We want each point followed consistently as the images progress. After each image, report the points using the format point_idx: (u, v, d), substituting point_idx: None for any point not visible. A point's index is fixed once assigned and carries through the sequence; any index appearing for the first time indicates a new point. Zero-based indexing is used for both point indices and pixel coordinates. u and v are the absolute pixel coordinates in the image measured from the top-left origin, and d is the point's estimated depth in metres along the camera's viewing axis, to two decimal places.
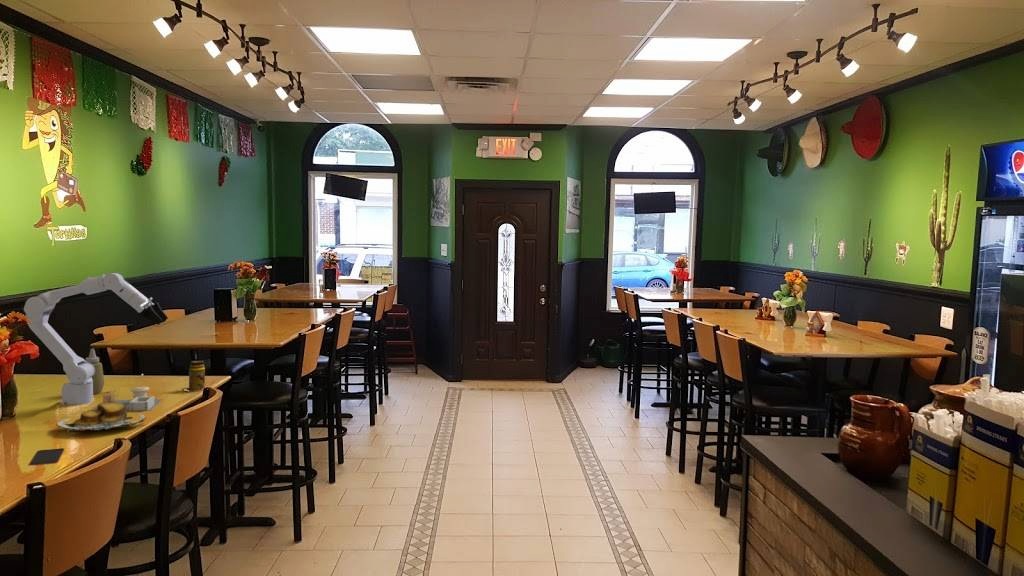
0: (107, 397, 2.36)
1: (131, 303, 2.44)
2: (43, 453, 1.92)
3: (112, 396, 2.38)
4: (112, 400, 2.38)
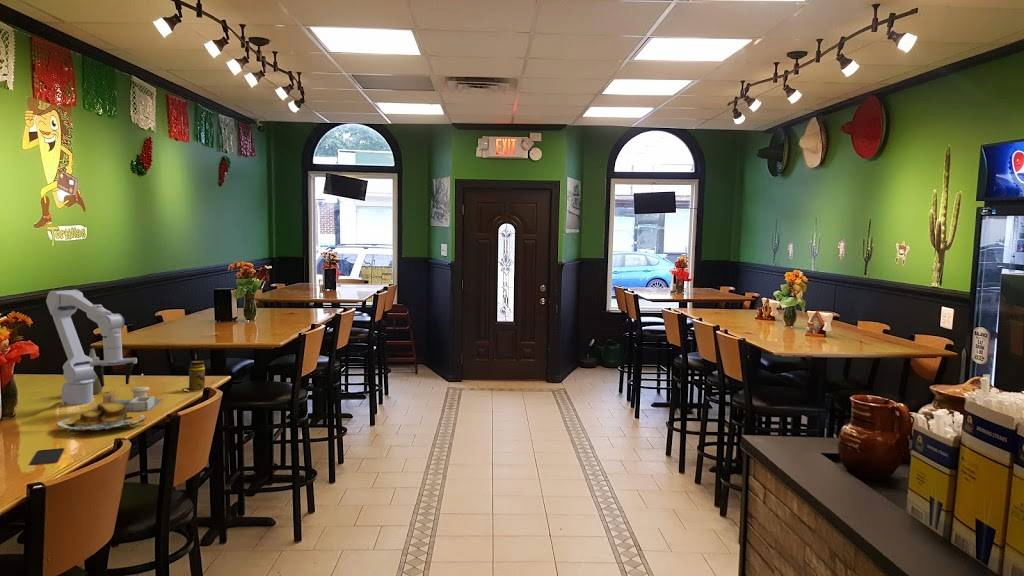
0: (107, 397, 2.36)
1: None
2: (43, 453, 1.92)
3: (112, 396, 2.38)
4: (112, 400, 2.38)
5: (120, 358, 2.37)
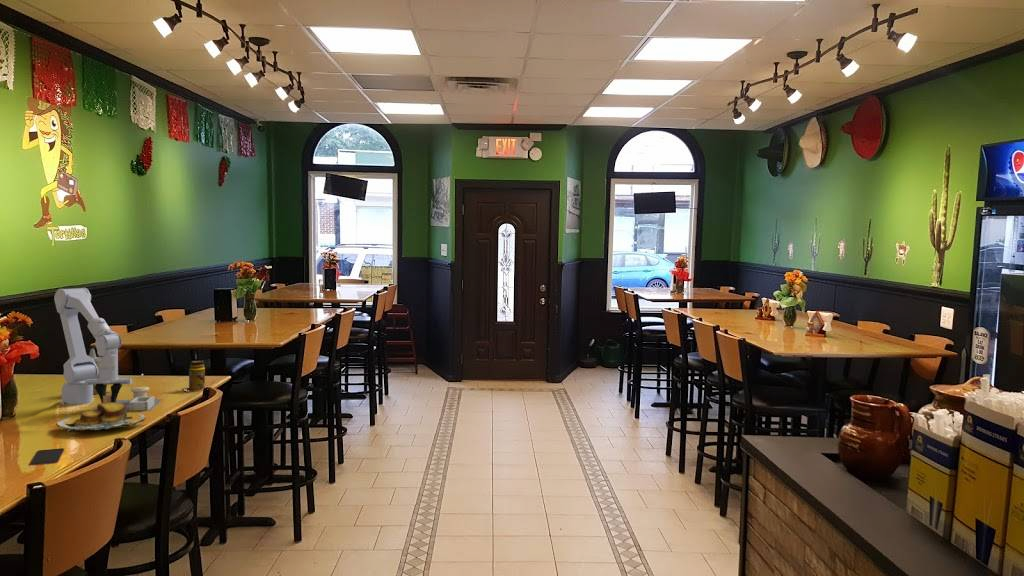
0: (107, 397, 2.36)
1: None
2: (43, 453, 1.92)
3: None
4: None
5: (114, 378, 2.36)
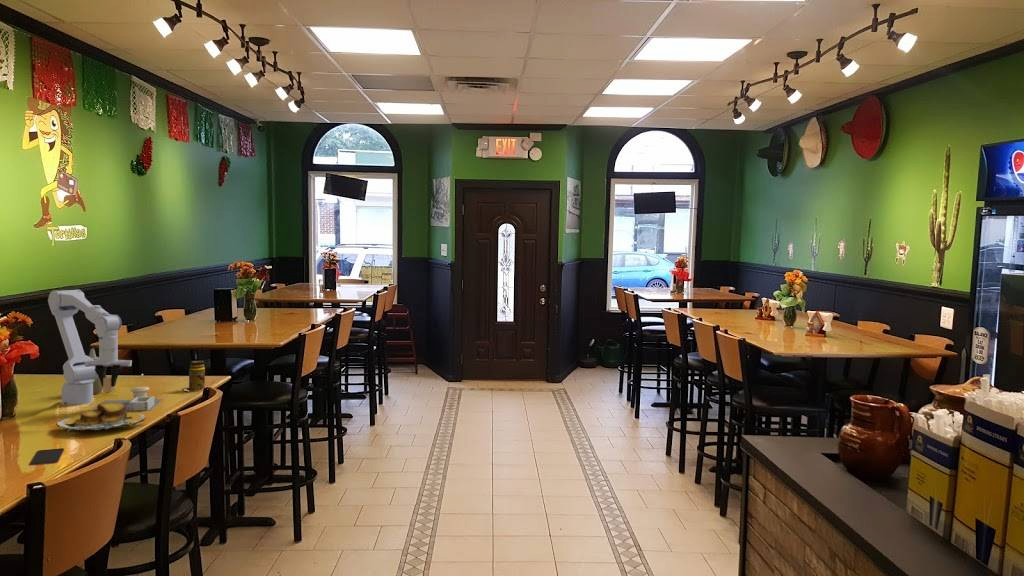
0: (107, 380, 2.35)
1: None
2: (43, 453, 1.92)
3: None
4: None
5: (114, 360, 2.36)
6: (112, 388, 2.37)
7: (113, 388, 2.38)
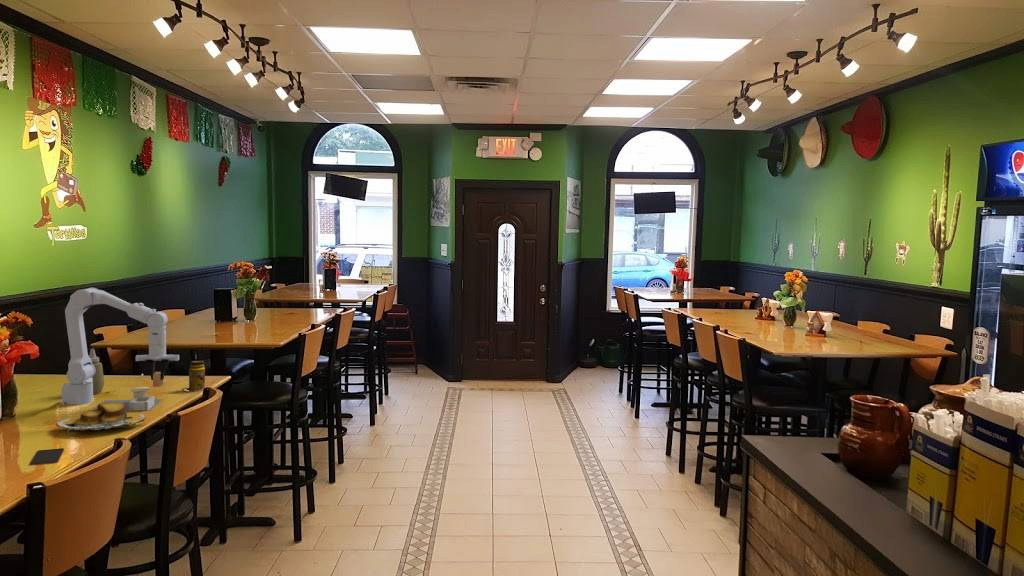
0: (157, 375, 2.48)
1: None
2: (43, 453, 1.92)
3: None
4: None
5: (163, 354, 2.47)
6: (161, 383, 2.50)
7: (162, 383, 2.51)
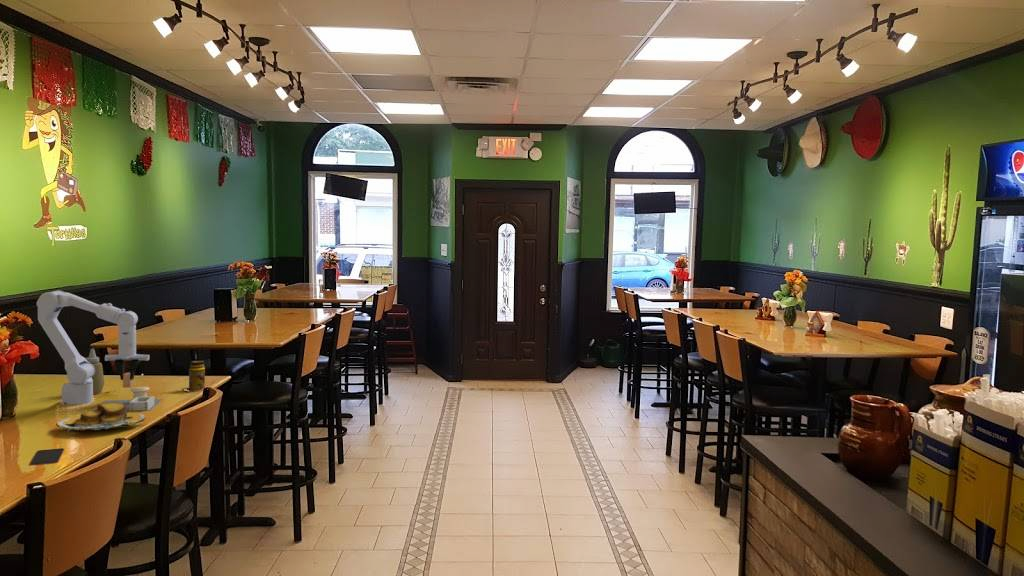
0: (127, 375, 2.47)
1: None
2: (43, 453, 1.92)
3: None
4: None
5: (133, 354, 2.46)
6: (131, 384, 2.48)
7: (132, 384, 2.50)
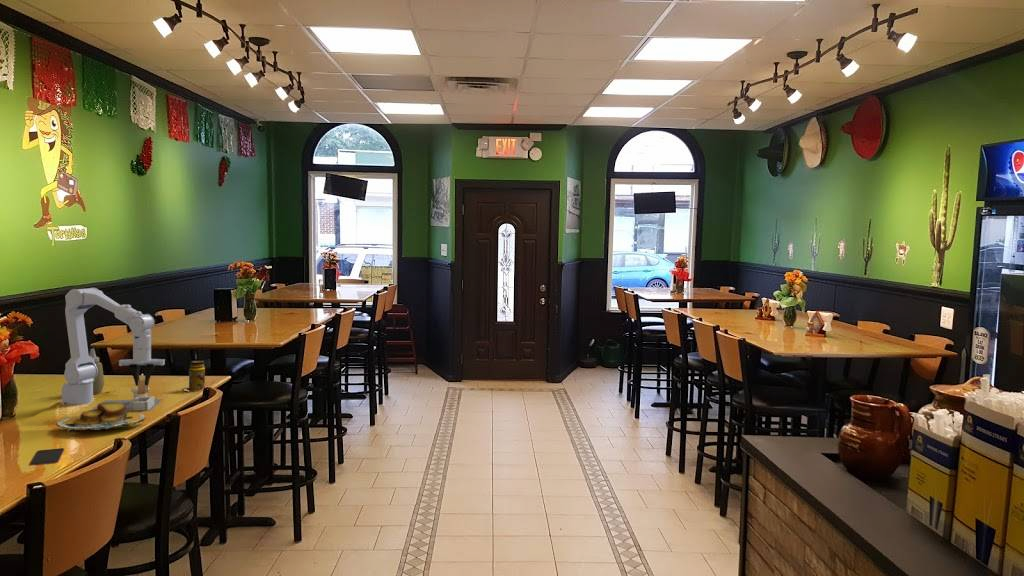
0: (142, 382, 2.39)
1: None
2: (43, 453, 1.92)
3: None
4: (146, 385, 2.41)
5: (148, 359, 2.38)
6: (146, 390, 2.41)
7: (147, 390, 2.42)
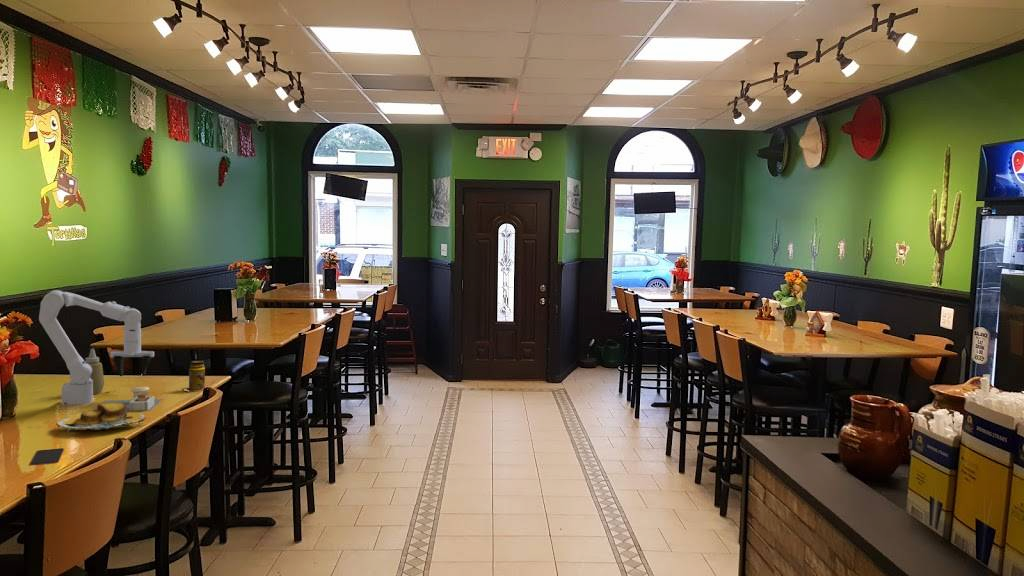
0: (141, 396, 2.39)
1: None
2: (43, 453, 1.92)
3: (146, 395, 2.41)
4: (146, 399, 2.41)
5: (138, 351, 2.50)
6: None
7: None
